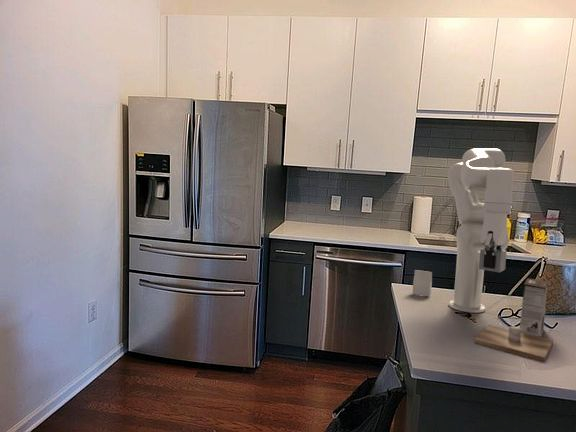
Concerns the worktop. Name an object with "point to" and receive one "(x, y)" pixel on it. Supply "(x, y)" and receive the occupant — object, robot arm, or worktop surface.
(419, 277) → the grey rectangular block
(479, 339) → the dock
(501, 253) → the grey cube
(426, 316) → the worktop surface
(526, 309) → the coffee box
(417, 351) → the worktop surface
